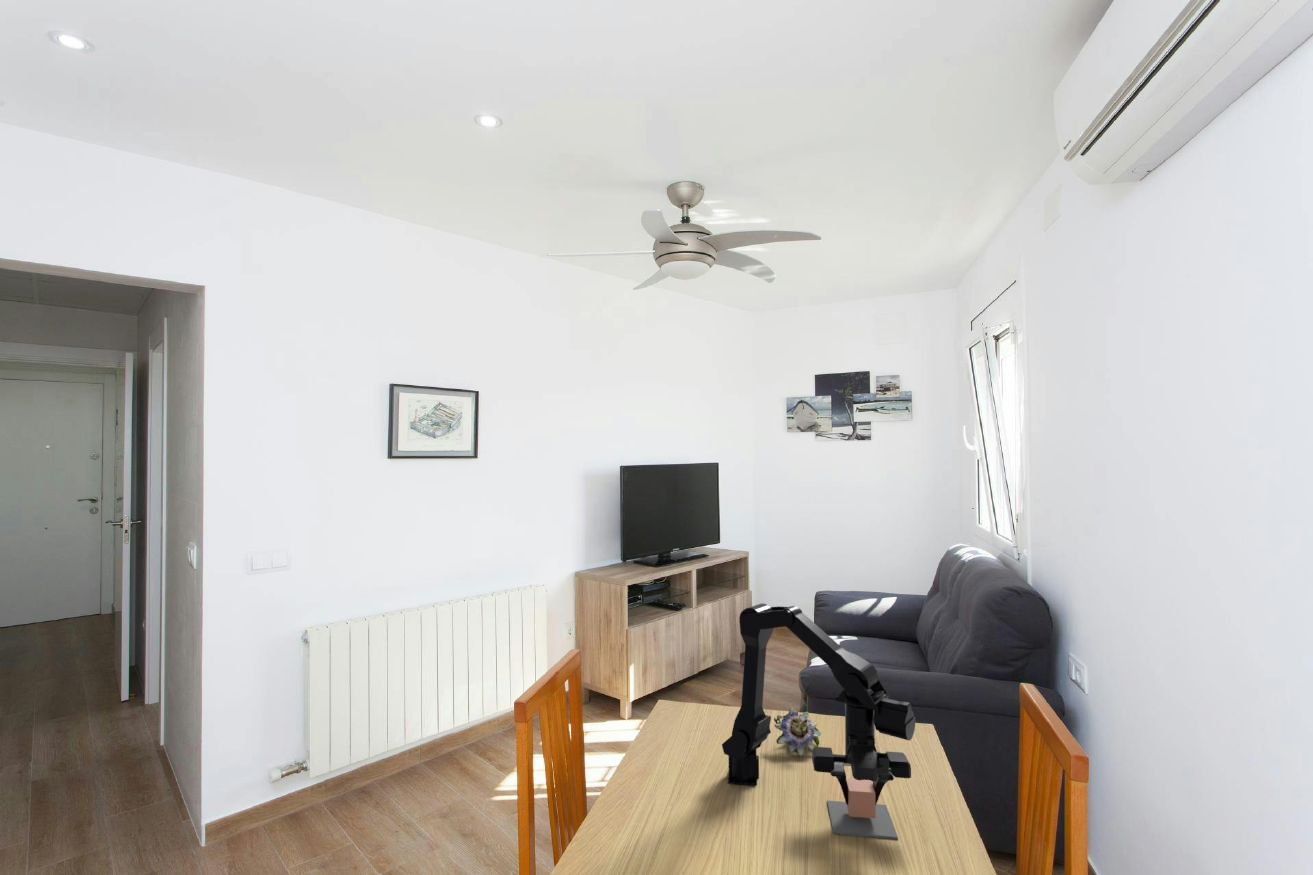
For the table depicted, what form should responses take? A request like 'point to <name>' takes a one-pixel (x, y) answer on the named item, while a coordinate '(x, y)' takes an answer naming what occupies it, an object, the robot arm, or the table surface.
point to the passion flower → (797, 731)
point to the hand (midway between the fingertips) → (860, 804)
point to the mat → (861, 822)
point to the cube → (861, 798)
